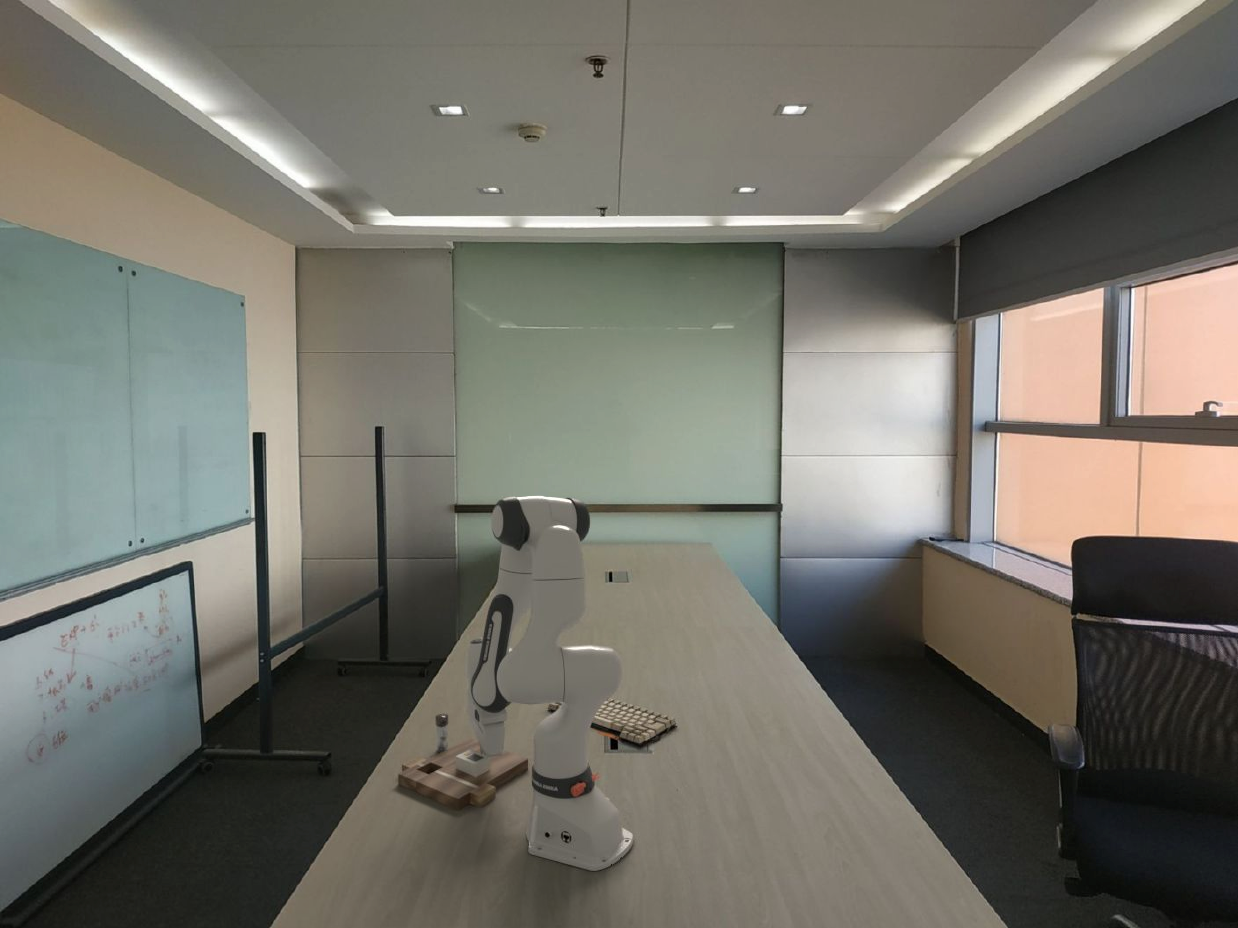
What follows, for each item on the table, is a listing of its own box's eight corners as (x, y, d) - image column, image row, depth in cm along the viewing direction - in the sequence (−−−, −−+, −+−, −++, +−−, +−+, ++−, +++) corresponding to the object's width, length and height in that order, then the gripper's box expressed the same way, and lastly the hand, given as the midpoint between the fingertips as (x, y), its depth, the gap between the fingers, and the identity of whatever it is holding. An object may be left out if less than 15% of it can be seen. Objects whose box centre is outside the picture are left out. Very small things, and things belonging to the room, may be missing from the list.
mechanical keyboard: (538, 715, 213) (538, 704, 213) (581, 696, 228) (581, 685, 228) (643, 752, 190) (643, 739, 190) (683, 728, 205) (683, 716, 205)
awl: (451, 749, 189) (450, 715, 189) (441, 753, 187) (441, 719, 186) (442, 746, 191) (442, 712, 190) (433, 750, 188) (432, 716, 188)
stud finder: (490, 769, 173) (490, 756, 173) (475, 777, 169) (475, 763, 169) (470, 761, 177) (470, 748, 177) (456, 768, 174) (455, 755, 173)
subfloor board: (537, 772, 177) (537, 762, 177) (467, 814, 158) (467, 803, 158) (462, 744, 192) (461, 735, 192) (390, 780, 173) (389, 770, 173)
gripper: (462, 690, 184) (462, 743, 184) (481, 720, 165) (482, 780, 166) (487, 686, 186) (487, 739, 187) (509, 716, 167) (509, 774, 168)
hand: (485, 758), depth 176 cm, fingers closed
